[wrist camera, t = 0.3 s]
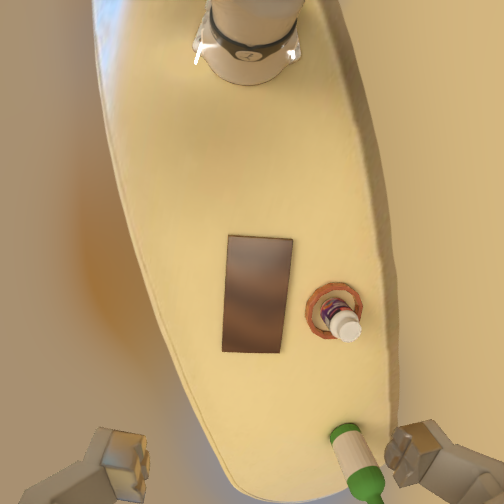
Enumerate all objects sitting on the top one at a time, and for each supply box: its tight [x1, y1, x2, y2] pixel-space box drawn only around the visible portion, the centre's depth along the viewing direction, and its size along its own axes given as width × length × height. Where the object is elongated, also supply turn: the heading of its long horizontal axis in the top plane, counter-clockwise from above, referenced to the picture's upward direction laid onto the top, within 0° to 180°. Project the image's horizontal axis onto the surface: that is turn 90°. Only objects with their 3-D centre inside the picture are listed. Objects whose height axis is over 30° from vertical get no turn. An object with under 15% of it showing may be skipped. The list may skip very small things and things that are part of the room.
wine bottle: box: [330, 424, 385, 504], centre depth 53 cm, size 8×8×30 cm
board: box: [222, 235, 293, 353], centre depth 57 cm, size 22×11×1 cm, turn 175°
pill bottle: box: [320, 297, 361, 343], centre depth 54 cm, size 5×5×10 cm
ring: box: [305, 283, 363, 339], centre depth 58 cm, size 11×11×2 cm
